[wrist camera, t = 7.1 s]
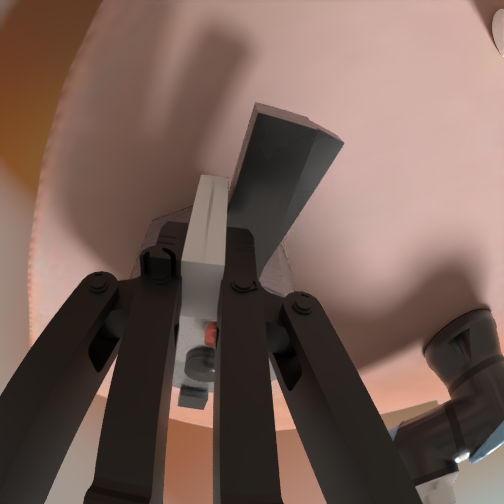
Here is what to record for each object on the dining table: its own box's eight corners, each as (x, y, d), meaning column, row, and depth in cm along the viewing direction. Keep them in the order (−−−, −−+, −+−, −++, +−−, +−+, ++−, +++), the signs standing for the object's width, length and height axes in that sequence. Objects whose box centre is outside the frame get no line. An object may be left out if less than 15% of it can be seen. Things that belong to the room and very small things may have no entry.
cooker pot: (236, 341, 40) (236, 401, 33) (127, 309, 36) (109, 370, 29) (374, 148, 24) (424, 198, 17) (213, 66, 20) (197, 77, 13)
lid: (259, 400, 32) (260, 423, 30) (122, 379, 29) (118, 403, 27) (410, 157, 15) (436, 181, 13) (124, 78, 12) (99, 86, 10)
